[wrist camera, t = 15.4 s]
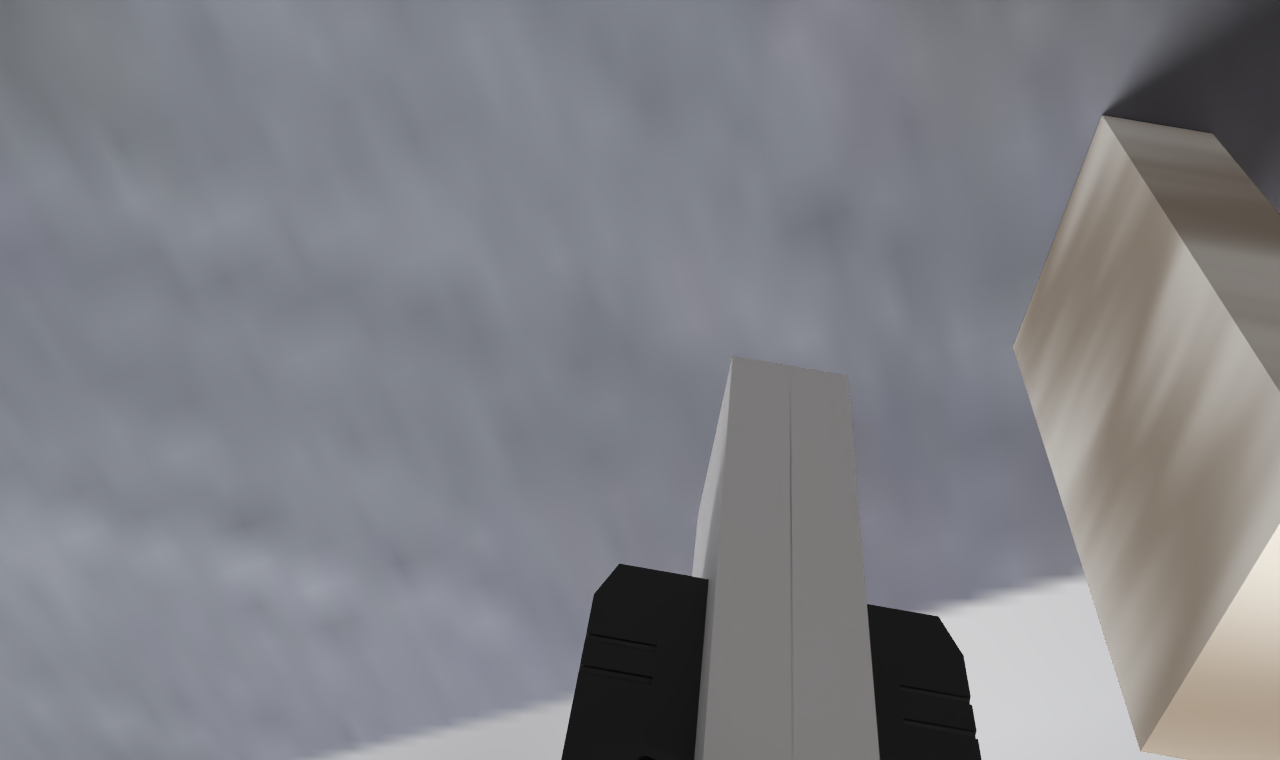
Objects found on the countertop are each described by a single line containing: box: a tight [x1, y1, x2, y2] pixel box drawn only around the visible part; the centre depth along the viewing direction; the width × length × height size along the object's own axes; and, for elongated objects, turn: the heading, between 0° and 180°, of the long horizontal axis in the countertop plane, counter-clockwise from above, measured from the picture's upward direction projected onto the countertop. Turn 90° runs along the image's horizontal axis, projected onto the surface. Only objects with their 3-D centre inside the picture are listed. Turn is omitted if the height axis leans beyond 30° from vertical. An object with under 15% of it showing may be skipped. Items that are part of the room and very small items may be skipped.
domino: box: [1013, 115, 1280, 760], centre depth 18 cm, size 5×2×10 cm, turn 172°
